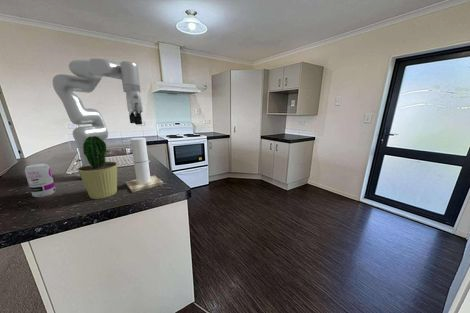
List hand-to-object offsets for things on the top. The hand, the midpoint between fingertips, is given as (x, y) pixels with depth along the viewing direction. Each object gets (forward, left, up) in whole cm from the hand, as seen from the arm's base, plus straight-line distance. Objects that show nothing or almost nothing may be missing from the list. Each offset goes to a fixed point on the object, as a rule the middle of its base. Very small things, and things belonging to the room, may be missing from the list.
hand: (136, 123), depth 92 cm
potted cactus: (-19, +1, -35) cm, 39 cm away
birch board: (0, 0, -34) cm, 34 cm away
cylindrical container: (0, 0, -33) cm, 33 cm away
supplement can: (-41, +20, -35) cm, 57 cm away
